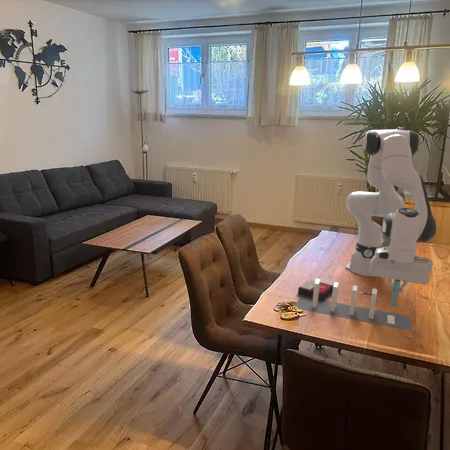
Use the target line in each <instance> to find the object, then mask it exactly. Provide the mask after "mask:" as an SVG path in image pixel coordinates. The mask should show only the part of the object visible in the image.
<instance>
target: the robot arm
mask: <svg viewBox="0 0 450 450" xmlns="http://www.w3.org/2000/svg"><path fill="white" fill-rule="evenodd" d="M362 139H363V140H362V142H361V143H362V149H363V152H364V153H365V154H366V155H368V156H369V161H368V166H367V171H366V172H367V173H366V181H367V183H368V184H369V185H370V186H371V187H373V188H376V189H377V190H378V192H377V191H376V192H373V191H363V190H361V191H353V192H351V193H350V194H349V195H347V198H346V199H345V200H346V201H345V206H346V209H347V211H348V212H349V213H351V214H352V216H353V217H354V218H355V221H356V223H357V228H358V232H357V233H358V234H357V241H356V244H355V250H354V251H352V253H350V260H349V263H348V264H346V266H345V269H346V270H349V271H351V272H353V274H355V275H360V276H362V277H377V278H382V279H387V281H386V282H388V285H389V288H388V289H389V291H392V292H393V291H394V283H393V284H392V281H393V280H400V282H401V281H402V284H400V287H399V293H403V292H404V288H405V287H407V286H408V284H409V283H415V284H422V285H427V284H429V283H430V279H431V278H430V277H431V276H430V275H431V271H432V269H433V266H434V265H433V264H434V262H433V261H432V260H431V259H430V258H428V257H422V256H417V255H416V253H417V242H419V243H420V242H421V243H427V242H429V241H430V240H432V239H433V238H434V237H435V236H436V234H437V223H436V220H435V218H434V216H433V213H432V209H431V205H430V201H429V200H430V199H429V196H428V192H427V188H426V185H425V181H424V178H423V176H422V175H421V174H419V173H418V172H417V170H416V169H415V168H414V164H413V157H412V156H414V155H415V154H416V153H417V152H418V149H419V146H420V137H419V134H418V133H417V132H416V131H413V130H405V129H394V128H393V129H379V130H378V129H371V130H368V131H366V133H365V134H364V137H363V138H362ZM395 187H397V188H401V189H403V190H405V191H406V192H408V193H409V194H411V196H412V198H413V202H414V207H415V209H413V208H410V207H405V204H406V203H404V200H403V198H402V197H401V196H400V195H399V194H398V193H397V192H396V191H397V190H396V189H395ZM372 217H382V221H381V224H378V223H377V222H375V221H374V220H373V219H372ZM384 235H385V236H386V237H387V238H391V242H390V245H389V246H387V247H382V242H383V239H384Z"/></svg>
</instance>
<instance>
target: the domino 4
mask: <svg viewBox="0 0 450 450" xmlns="http://www.w3.org/2000/svg"><path fill="white" fill-rule="evenodd" d="M371 294H372V295H370V296H371V299H370V306H369V309H370V310H369V318H370V319H373V317H374V311H375V310H376V303H377V298H378V289H377V288H372V292H371Z"/></svg>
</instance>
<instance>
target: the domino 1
mask: <svg viewBox="0 0 450 450" xmlns="http://www.w3.org/2000/svg"><path fill="white" fill-rule="evenodd" d="M320 279H321V278H320ZM320 279H316V281H315V283H314V292H313V301H312V307H313V308H316V307H317V304H318V297H319V288H320Z"/></svg>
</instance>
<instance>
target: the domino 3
mask: <svg viewBox="0 0 450 450" xmlns="http://www.w3.org/2000/svg"><path fill="white" fill-rule="evenodd" d="M358 288H359V286H358V285H355V284H354V285H353V286H352V290H351V299H350V304H349V305H350V312H349V315H354V310H355V306H356V301H357V294H358Z"/></svg>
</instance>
